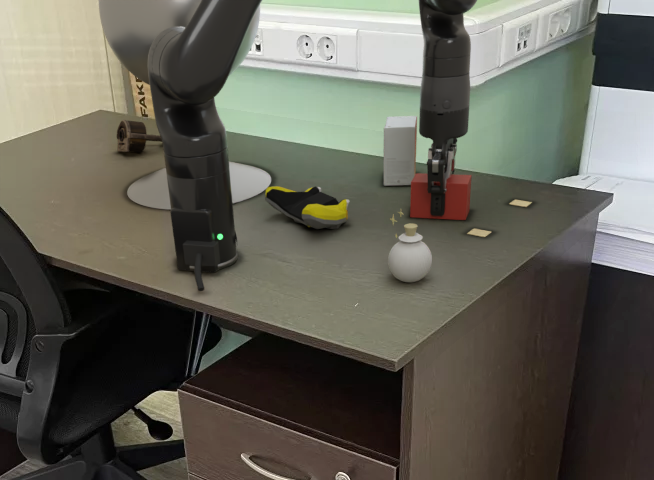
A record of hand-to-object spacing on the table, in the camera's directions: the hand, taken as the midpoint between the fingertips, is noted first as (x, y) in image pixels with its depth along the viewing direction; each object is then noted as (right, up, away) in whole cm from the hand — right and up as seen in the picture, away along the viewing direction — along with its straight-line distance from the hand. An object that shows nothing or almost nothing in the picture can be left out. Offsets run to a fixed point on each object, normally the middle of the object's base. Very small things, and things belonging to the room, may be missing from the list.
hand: (440, 209), depth 142 cm
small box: (-4, +9, +17) cm, 20 cm away
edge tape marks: (+9, -2, -3) cm, 10 cm away
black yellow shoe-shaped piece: (-21, -2, +2) cm, 22 cm away
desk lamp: (-41, +10, +23) cm, 48 cm away
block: (0, -1, 0) cm, 1 cm away
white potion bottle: (-9, -14, -20) cm, 26 cm away
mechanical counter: (-54, +23, +45) cm, 74 cm away
